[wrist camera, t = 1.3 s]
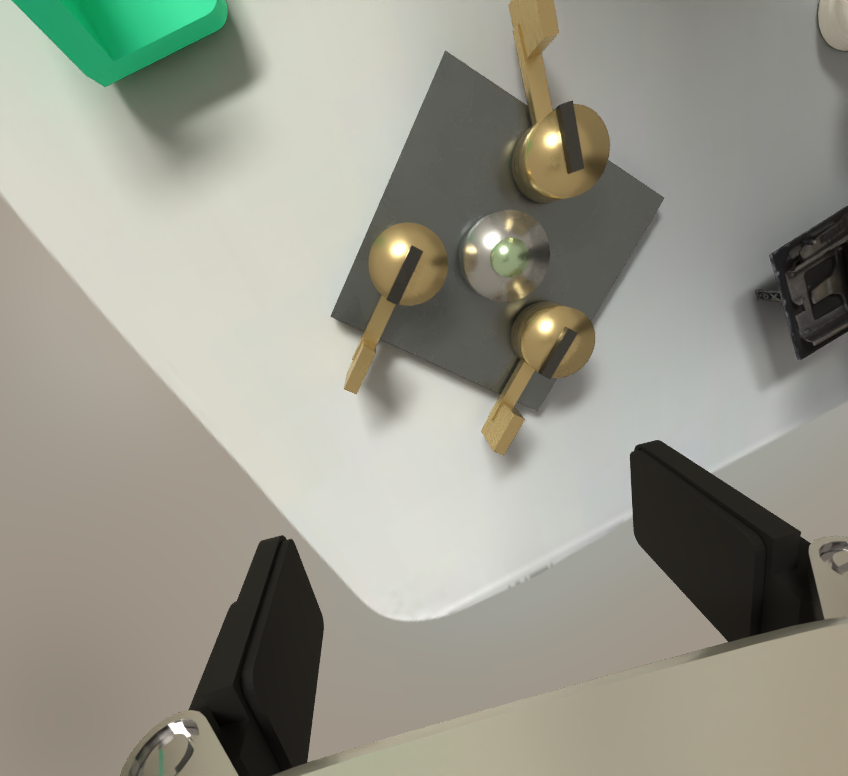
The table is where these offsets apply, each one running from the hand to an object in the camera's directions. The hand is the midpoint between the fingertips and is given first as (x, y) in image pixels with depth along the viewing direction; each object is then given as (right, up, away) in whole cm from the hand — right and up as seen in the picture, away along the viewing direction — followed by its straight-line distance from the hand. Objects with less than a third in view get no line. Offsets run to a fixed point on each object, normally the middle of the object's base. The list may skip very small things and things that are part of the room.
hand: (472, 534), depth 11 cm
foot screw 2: (+5, +20, +13) cm, 24 cm away
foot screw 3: (+5, +5, +18) cm, 19 cm away
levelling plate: (+3, +13, +16) cm, 21 cm away
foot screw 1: (-4, +9, +15) cm, 18 cm away
